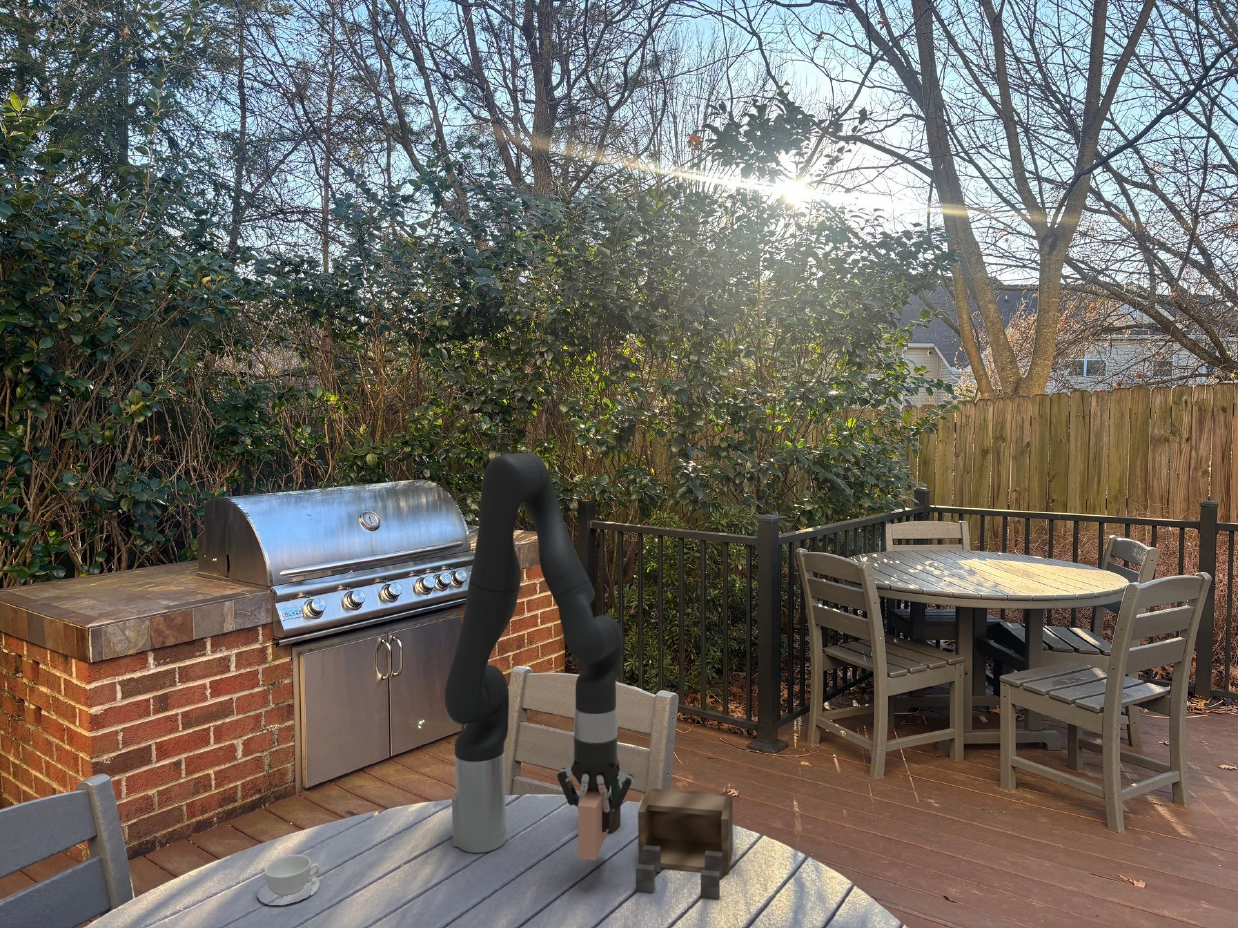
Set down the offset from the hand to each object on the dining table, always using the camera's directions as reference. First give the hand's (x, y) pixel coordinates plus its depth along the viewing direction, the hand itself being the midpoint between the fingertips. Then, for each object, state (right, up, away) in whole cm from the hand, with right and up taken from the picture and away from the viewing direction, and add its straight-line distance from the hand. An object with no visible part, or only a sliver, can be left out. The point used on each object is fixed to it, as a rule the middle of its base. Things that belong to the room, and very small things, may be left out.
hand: (595, 828), depth 148 cm
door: (0, -2, 0) cm, 2 cm away
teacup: (-52, -10, -3) cm, 53 cm away
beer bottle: (+1, -8, +18) cm, 20 cm away
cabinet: (+16, -8, +3) cm, 18 cm away
